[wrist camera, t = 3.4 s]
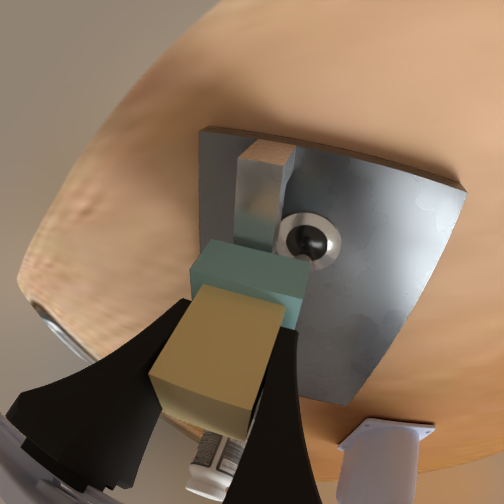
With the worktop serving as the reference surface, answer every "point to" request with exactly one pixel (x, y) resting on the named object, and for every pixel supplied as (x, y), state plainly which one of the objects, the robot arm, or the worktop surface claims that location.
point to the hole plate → (340, 247)
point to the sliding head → (228, 336)
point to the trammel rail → (261, 197)
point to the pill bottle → (214, 465)
